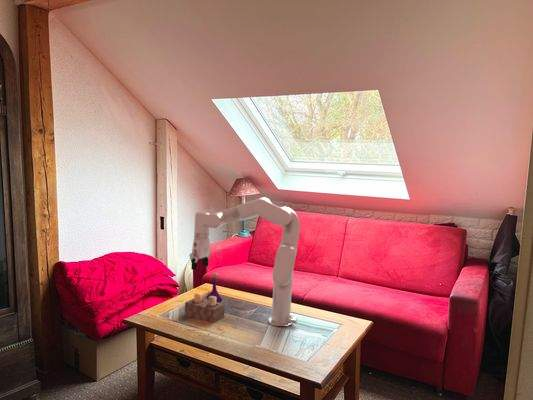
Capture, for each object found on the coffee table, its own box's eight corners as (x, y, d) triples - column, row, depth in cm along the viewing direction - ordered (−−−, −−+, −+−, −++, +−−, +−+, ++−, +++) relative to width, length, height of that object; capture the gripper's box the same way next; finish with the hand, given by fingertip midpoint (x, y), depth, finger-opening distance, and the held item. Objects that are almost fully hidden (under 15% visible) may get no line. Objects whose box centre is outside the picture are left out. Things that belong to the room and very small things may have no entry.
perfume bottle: (205, 302, 231) (207, 271, 230) (218, 301, 235) (219, 270, 233) (209, 306, 225) (211, 275, 223) (222, 305, 228) (223, 274, 226)
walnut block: (224, 316, 211) (224, 303, 211) (213, 323, 202) (214, 309, 202) (196, 309, 219) (196, 297, 219) (184, 315, 210) (185, 302, 210)
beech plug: (217, 310, 209) (218, 297, 209) (213, 312, 206) (213, 299, 205) (210, 308, 211) (211, 295, 211) (206, 310, 208) (207, 297, 207)
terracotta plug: (203, 306, 213) (203, 293, 213) (198, 308, 210) (199, 295, 209) (196, 305, 215) (197, 292, 214) (192, 307, 212) (192, 294, 211)
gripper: (197, 239, 201) (195, 272, 202) (216, 234, 216) (215, 265, 218) (185, 237, 204) (183, 269, 206) (205, 232, 219) (203, 263, 221)
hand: (199, 267), depth 212 cm, fingers open, 9 cm apart
